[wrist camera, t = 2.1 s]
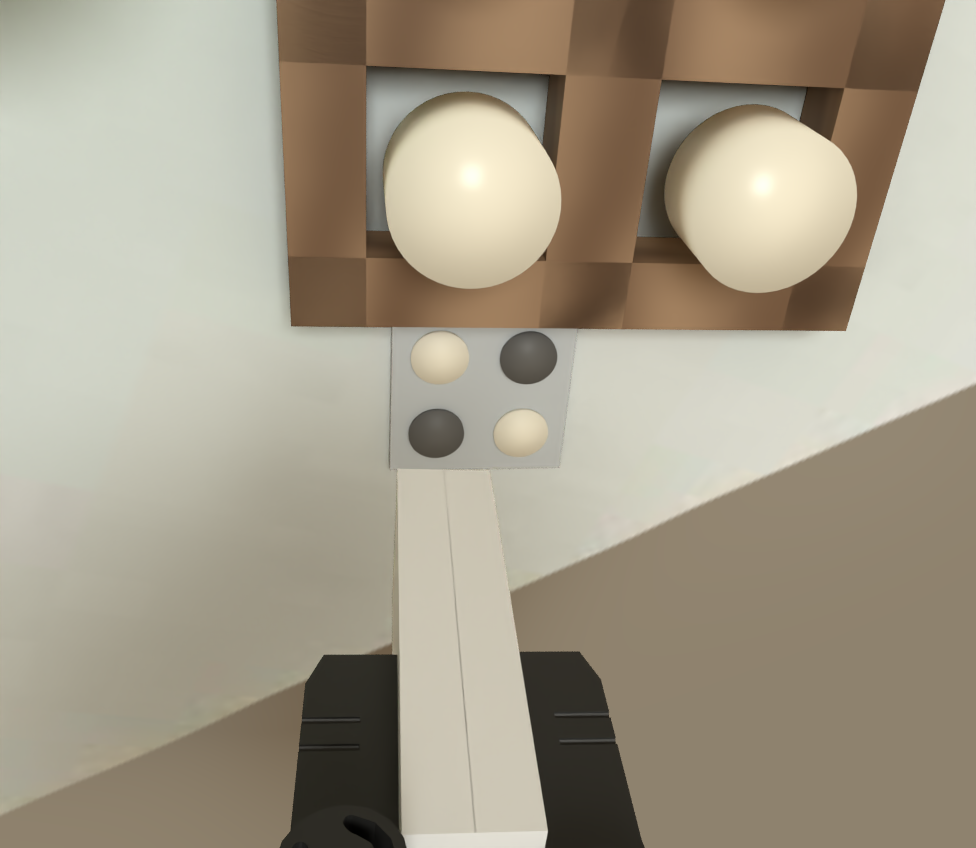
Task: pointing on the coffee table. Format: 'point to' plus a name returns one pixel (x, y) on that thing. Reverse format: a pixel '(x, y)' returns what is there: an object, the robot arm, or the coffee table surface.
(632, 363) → the coffee table surface
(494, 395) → the card
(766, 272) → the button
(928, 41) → the board
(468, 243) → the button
